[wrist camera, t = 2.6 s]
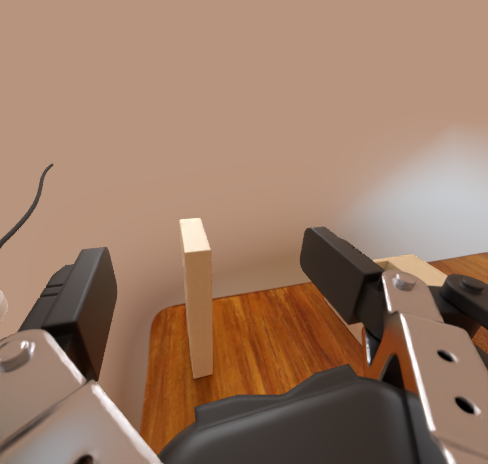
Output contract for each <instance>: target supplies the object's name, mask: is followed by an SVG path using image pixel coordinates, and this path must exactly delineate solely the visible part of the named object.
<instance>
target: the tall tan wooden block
mask: <svg viewBox="0 0 488 464" xmlns="http://www.w3.org/2000/svg"><path fill="white" fill-rule="evenodd" d="M179 225H180V237H181V250H182V264H183V276H184V290H185V302H186V315H187V328H188V338H189V346H190V355H191V363H192V372H193V378H194V379H195V378H199V377H203V376H208V375H212V374H213V343H212V275H211V274H212V273H211V270H212V269H211V248H210V245H209V242H208V239H207V236H206V234H205V230H204V227H203V224H202V221H201V219H200V218H194V219H182V220H179Z"/></svg>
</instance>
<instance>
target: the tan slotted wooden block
mask: <svg viewBox="0 0 488 464" xmlns="http://www.w3.org/2000/svg"><path fill="white" fill-rule="evenodd" d="M372 261H374V262H375V263H376V264H378V265H379V266H380V267H382V268H383V269H384V270H386V271H387V270H399V271H404V272H407V273H410V274H412V275H414V276H416V277H418V278H420V279H421V280H422V281H424V282H425V283H426V284H427V285H430V286H442V285H443V283H444V281H445V279H446V277H447V275H445V274H444V273H442V272H441V271H439V270H437V269H436V268H434V267H432V266H431V265H429V264H428V263H426V262H424V261H423V260H421V259H419V258H418V257H416V256H415V255H413V254H410V255H403V256H397V257H390V258H383V259H376V260H372ZM324 300H325V301H326V302H327V304H328V305H329V306H330V307H331V309H332V310H333V311H334V312H335V313H336V315H337V316H338V317H339V318H340V320H341V321H342V322H343V323H344V325H345V326H346V327H347V328H348V329H349V331H350V332H351V333H352V334H353V336H354V337H355V338H356V339H357V340H358V342H359V343H360V344H361V345H362V335H361V331H362V328H363V326H364V325H363V324H362V323H361V322H360V323H356V324H352V325H348V324H347V323H346V322H345V321H344V319H343V318H342V317H341V316H340V315H339V313H338V312H337V311H336V310H335V309H334V307H333V306H332V305H331V304H330V303H329V302H328V300H327V299H326V298H324Z"/></svg>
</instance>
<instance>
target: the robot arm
mask: <svg viewBox="0 0 488 464" xmlns="http://www.w3.org/2000/svg"><path fill="white" fill-rule="evenodd" d="M52 166H53V164H50V165H49V166H48V167H47V168H46V169H45V171H44V172H43V174H42V176H41V179H40V183H39V188H38V192H37V196H36V198H35V200H34V202H33V204H32V206H31V207H30V209H29V210H28V212H27V213H26V214H25V215H24V217H23V218H22V219H21V220H20V221H19V222H18V224H16V226H15V227H14V228H13V229H12V230H11V231H10V232H9V233H7V234H6V235H5V236H4V237H3V238H2V239H1V240H0V248H1V247H2V246H3V244H4V243H5V242H6V241H7V240H8V239H9V238H10V237H11V236H13V234H14V233H15V232H16V231H17V230H18V229H19V228H20V227H21V226H22V225H23V224H24V222H25V221H26V220H27V219H28V218H29V216H30V215H31V213H32V212H33V210H34V209H35V207H36V205H37V203H38V201H39V198H40V195H41V191H42V186H43V180H44V177H45V174H46V173H47V171H48V170H49V169H50V168H51V167H52ZM300 265H301V268H302V270H303V272H304V273H305V274H306V275H307V276H308V278H309V279H310V280H311V281H312V282H313V284H314V285H315V286H316V287H317V288H318V290H319V291H320V292H321V293H322V294H323V296H324V297H325V298H326V299H327V300H328V302H329V303H330V304H331V305H332V306H333V307H334V309H335V310H336V311H337V312H338V313H339V315H340V316H341V317H342V318H343V319H344V321H345V322H346V323H347V324H348V325H352V324H356V323H360V322H361V323H362V324H363V325H364V326H363V328H362V331H361V335H362V352H363V370H364V377H361V376H357V375H356V373H355V372H354V371H353V369H352V368H351V366H350V365H349V364H346V365H343V366H339V367H335V368H332V369H328V370H325V371H321V372H317V373H315V374H313V375H312V376H310V377H309V378H308V379H306V380H305V381H303V382H302V383H300V384H299V385H297V386H296V387H294V388H293V389H291V390H290V391H288V392H287V393H285V394H281V395H235V396H232V397H228V398H224V399H221V400H217V401H214V402H210V403H206V404H203V405H199V406H196V407H194V408H195V421H196V422H194V423H193V424H191V425H189V426H188V427H186V428H185V429H184V430H182V431H181V432H180V433H179V434H177V435H176V436H175V437H174V438H173V439H172V440H171V441H170V442H169V443H168V444H167V445H166V446H165V447H164V448H163V450H162V451H161V452H160V453H159V454H158V456H156V454H155V453H154V452H153V451H152V449H151V448H150V447H149V446H148V445H147V443H146V442H145V441H144V440H143V438H142V437H141V436H140V435H139V434H138V432H137V431H136V430H135V429H134V428H133V427H132V425H131V424H130V423H129V421H128V420H127V419H126V418H125V417H124V415H123V414H122V413H121V412H120V410H119V409H118V408H117V407H116V406H115V404H114V403H113V402H112V401H111V400H110V398H109V397H108V396H107V395H106V393H105V392H104V391H103V390H102V389H101V387H100V386H99V385H98V384H97V383H96V382H97V381H98V379H99V374H100V370H101V365H102V361H103V357H104V352H105V348H106V343H107V339H108V334H109V330H110V326H111V321H112V317H113V312H114V308H115V304H116V299H117V284H116V279H115V275H114V270H113V266H112V262H111V258H110V254H109V251H108V249H107V247H103V248H92V249H83V250H82V251H81V252H80V254H79V256H78V258H77V260H76V261H75V263H74V264H72V265H65V266H64V267H63V268H61V269H60V270H59V271H58V272H56V273H55V274H54V275H53V276H52V277H51V279H50V281H49V282H48V284H47V286H46V288H45V289H44V290H43V292H42V293H41V295H40V298H38V300H37V301H36V303H35V304H34V306H33V308H32V310H31V311H30V313H29V314H28V316H27V317H26V319H25V321H24V322H23V324H22V325H21V327H20V329H19V330H18V332H17V333H15V334H12V335H9V336H8V337H5V338H3V339H1V340H0V464H488V355H487V354H486V353H484V352H483V351H482V350H481V349H479V348H478V347H477V346H476V345H475V344H473V343H472V341H471V340H472V338H473V337H474V335H475V334H476V332H477V331H478V329H479V328H480V326H481V325H482V326H483V327H484V328H486V329H487V330H488V285H487V284H485V283H484V282H482V281H479V280H477V279H475V278H472V277H468V276H464V275H459V274H452V275H448V276H447V277H446V279H445V281H444V283H443V285H442V286H430V285H427V284H426V283H425V282H424V281H422V280H421V279H420V278H418V277H416V276H414V275H412V274H410V273H407V272H404V271H399V270H387V271H386V270H384V269H383V268H382V267H380V266H379V265H378V264H376V263H375V262H374V261H372V260H371V259H370V258H369V257H367V256H366V255H365V254H362V252H361V251H359V250H358V249H355V247H354V246H353V245H351V244H350V243H348V242H347V241H345V240H343V239H341V238H339V237H337V236H336V235H335V234H333V233H332V232H331V231H329V230H328V229H327V228H326V227H314V228H307V229H306V231H305V233H304V238H303V244H302V250H301V255H300Z"/></svg>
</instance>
